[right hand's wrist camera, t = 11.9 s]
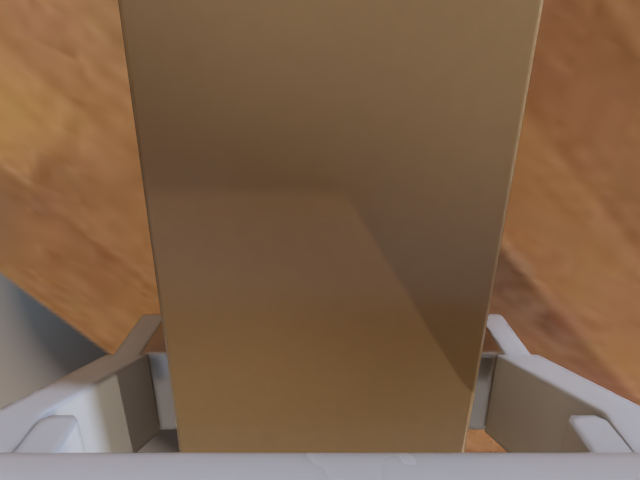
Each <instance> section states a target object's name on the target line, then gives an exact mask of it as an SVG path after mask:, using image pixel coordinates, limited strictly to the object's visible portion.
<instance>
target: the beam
mask: <svg viewBox="0 0 640 480" xmlns="http://www.w3.org/2000/svg"><path fill="white" fill-rule="evenodd" d="M543 1H544V0H118V3H119V11H120V18H121V25H122V33H123V40H124V47H125V55H126V62H127V69H128V77H129V84H130V91H131V98H132V106H133V113H134V120H135V128H136V135H137V142H138V150H139V157H140V164H141V172H142V179H143V186H144V194H145V201H146V208H147V216H148V223H149V230H150V238H151V245H152V252H153V259H154V267H155V274H156V281H157V289H158V296H159V303H160V311H161V318H162V325H163V333H164V340H165V347H166V355H167V362H168V369H169V377H170V384H171V391H172V399H173V406H174V413H175V421H176V428H177V435H178V442H179V450H180V453H464V451H465V446H466V440H467V434H468V429H469V423H470V417H471V412H472V406H473V400H474V394H475V389H476V383H477V377H478V372H479V366H480V360H481V355H482V349H483V343H484V337H485V332H486V326H487V320H488V315H489V309H490V303H491V298H492V292H493V286H494V280H495V275H496V269H497V263H498V258H499V252H500V246H501V241H502V235H503V229H504V223H505V218H506V212H507V206H508V201H509V195H510V189H511V183H512V178H513V172H514V166H515V161H516V155H517V149H518V144H519V138H520V132H521V126H522V121H523V115H524V109H525V104H526V98H527V92H528V87H529V81H530V75H531V69H532V64H533V58H534V52H535V47H536V41H537V35H538V30H539V24H540V18H541V12H542V7H543Z"/></svg>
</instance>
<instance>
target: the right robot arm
mask: <svg viewBox="0 0 640 480" xmlns="http://www.w3.org/2000/svg"><path fill="white" fill-rule="evenodd" d="M160 429H177V428H176V421H175V413H174V406H173V399H172V391H171V384H170V377H169V369H168V362H167V355H166V347H165V340H164V333H163V325H162V318H161V314H147V315H142V316H141V318H140V319H139V320H138V322H137V323H136V325H135V326H134V327H133V329H132V330H131V332H130V333H129V334H128V336H127V337H126V339H125V340H124V341H123V343H122V344H121V345H120V347H119V348H118V350H117V351H116V352H115V354H114V355H105V356H103V357H102V358H100V359H97V360H96V361H94V362H92V363H90V364H88V365H86V366H84V367H82V368H80V369H78V370H76V371H74V372H72V373H70V374H68V375H66V376H64V377H62V378H60V379H58V380H56V381H54V382H52V383H50V384H48V385H46V386H44V387H42V388H40V389H38V390H36V391H34V392H32V393H30V394H28V395H27V396H24V397H23V398H21V399H19V400H17V401H15V402H13V403H11V404H9V405H7V406H5V407H3V408H1V409H0V480H640V406H639V405H637V404H635V403H633V402H631V401H629V400H627V399H625V398H623V397H621V396H619V395H617V394H615V393H613V392H611V391H609V390H607V389H605V388H603V387H601V386H599V385H597V384H595V383H593V382H591V381H589V380H587V379H585V378H583V377H581V376H579V375H577V374H575V373H573V372H571V371H569V370H567V369H565V368H563V367H561V366H559V365H557V364H555V363H553V362H551V361H549V360H547V359H545V358H543V357H541V356H539V355H531V354H530V353H529V352H528V350H527V349H526V347H525V346H524V345H523V343H522V342H521V341H520V339H519V338H518V337H517V335H516V334H515V333H514V331H513V330H512V329H511V327H510V326H509V325H508V323H507V322H506V321H505V319H504V318H503V317H502V316H501V315H499V314H489V315H488V320H487V326H486V332H485V337H484V343H483V349H482V355H481V360H480V366H479V372H478V377H477V383H476V389H475V394H474V400H473V406H472V412H471V417H470V423H469V429H484V430H485V432H486V433H487V434H488V435H489V436H490V437H492V438H493V439H494V440H495V441H496V442H497V443H498V444H499V445H500V446H502V447H503V448H504V449H505V450H506V451H507V452H508V453H137V452H138V451H139V450H140V449H141V448H142V447H143V446H144V445H145V444H147V443H148V442H149V441H150V440H151V439H152V438H153V437H154V436H155V435H156V434H158V432H159V430H160Z"/></svg>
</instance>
